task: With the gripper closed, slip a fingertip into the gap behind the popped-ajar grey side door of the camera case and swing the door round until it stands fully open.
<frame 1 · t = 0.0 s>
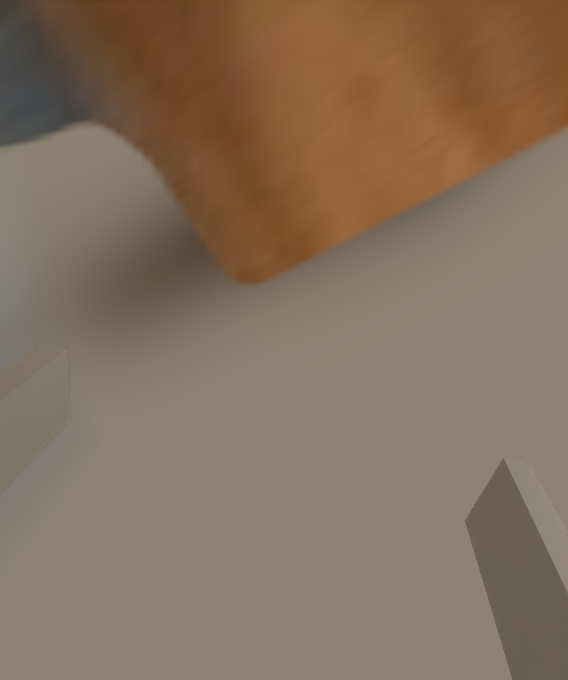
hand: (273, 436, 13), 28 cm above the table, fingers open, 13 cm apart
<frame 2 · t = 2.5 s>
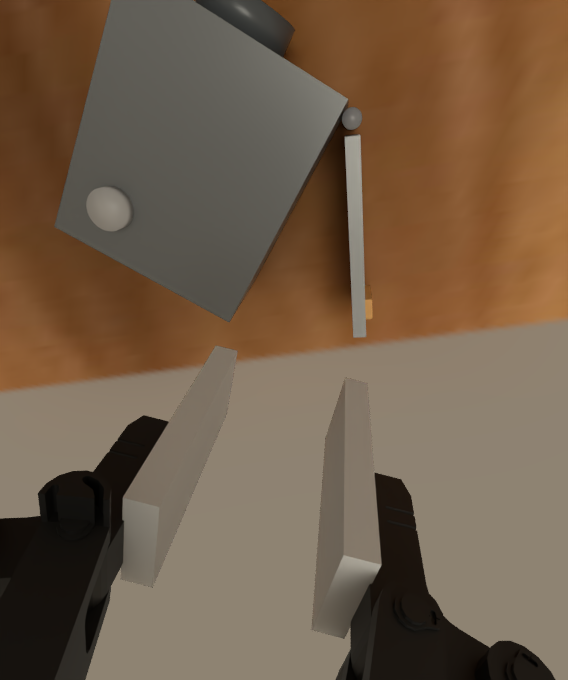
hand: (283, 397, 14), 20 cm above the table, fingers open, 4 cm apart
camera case: (223, 160, 30), on the table
side door: (359, 233, 27), point 4 cm above the table, hinge at 35.0°
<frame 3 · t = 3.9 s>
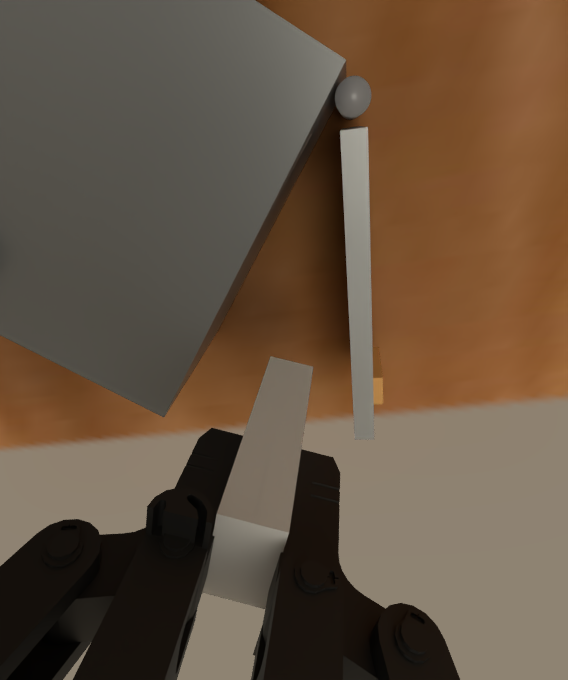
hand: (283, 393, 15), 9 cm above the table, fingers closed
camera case: (164, 165, 20), on the table
side door: (363, 279, 18), point 4 cm above the table, hinge at 35.0°
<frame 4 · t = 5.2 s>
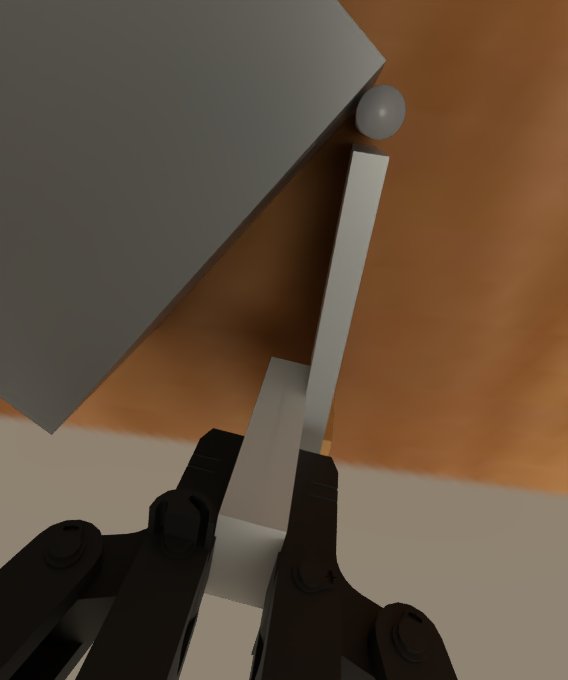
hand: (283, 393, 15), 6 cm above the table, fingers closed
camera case: (132, 122, 16), on the table
side door: (336, 325, 15), point 4 cm above the table, hinge at 35.9°, touching gripper
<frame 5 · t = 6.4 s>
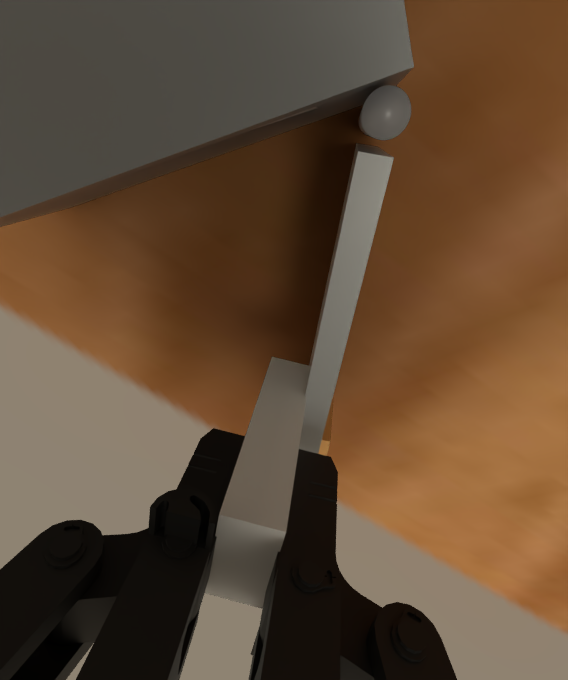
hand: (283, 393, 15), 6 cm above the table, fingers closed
side door: (337, 325, 15), point 4 cm above the table, hinge at 63.9°, touching gripper
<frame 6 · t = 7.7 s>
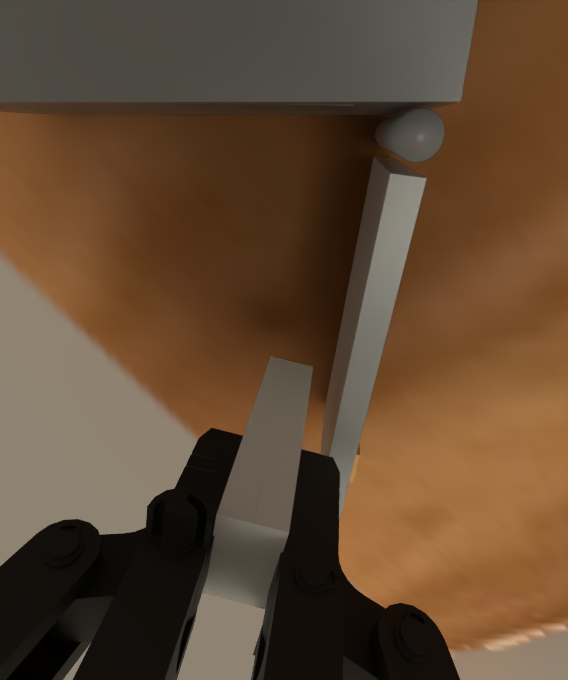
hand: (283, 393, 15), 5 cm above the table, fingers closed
side door: (362, 339, 15), point 4 cm above the table, hinge at 83.9°
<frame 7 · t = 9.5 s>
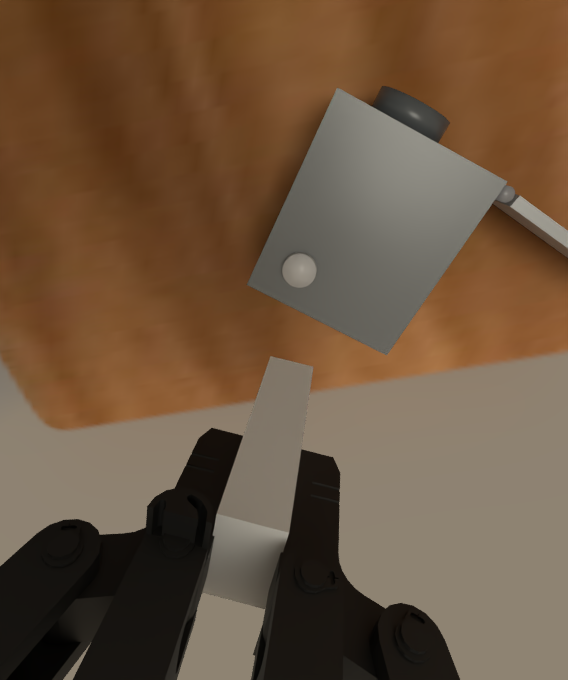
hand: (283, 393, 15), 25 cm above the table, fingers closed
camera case: (361, 219, 36), on the table
side door: (562, 236, 30), point 4 cm above the table, hinge at 83.9°
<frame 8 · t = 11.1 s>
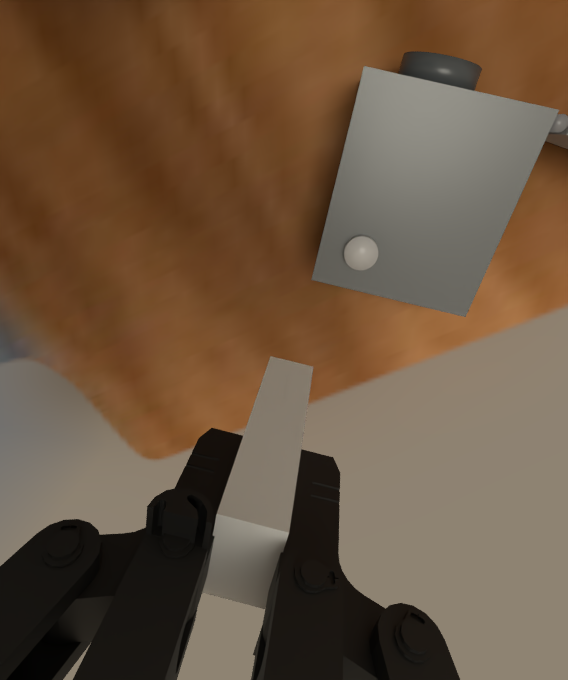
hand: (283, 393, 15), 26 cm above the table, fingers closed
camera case: (405, 190, 35), on the table
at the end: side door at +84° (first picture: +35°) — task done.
